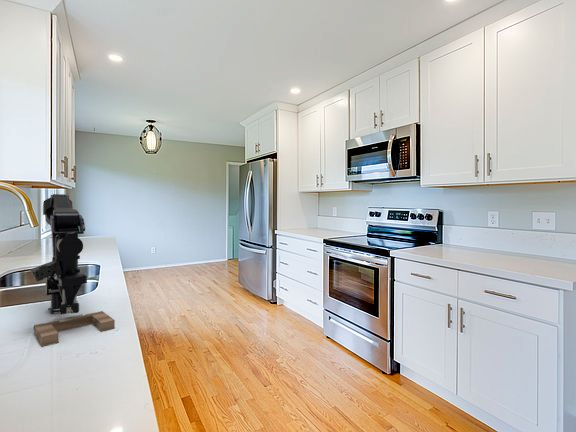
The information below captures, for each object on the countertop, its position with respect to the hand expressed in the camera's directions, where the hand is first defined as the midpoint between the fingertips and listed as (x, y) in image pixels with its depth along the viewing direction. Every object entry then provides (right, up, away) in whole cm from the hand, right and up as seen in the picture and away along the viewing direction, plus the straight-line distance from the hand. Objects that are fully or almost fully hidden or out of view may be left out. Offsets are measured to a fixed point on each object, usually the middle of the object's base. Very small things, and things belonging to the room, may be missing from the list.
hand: (67, 303), depth 96 cm
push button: (0, -3, 0) cm, 3 cm away
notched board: (+7, -6, -6) cm, 11 cm away
